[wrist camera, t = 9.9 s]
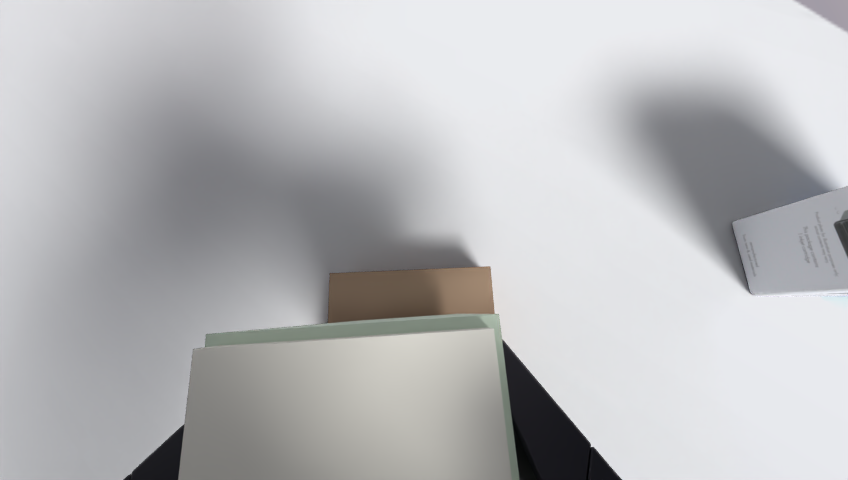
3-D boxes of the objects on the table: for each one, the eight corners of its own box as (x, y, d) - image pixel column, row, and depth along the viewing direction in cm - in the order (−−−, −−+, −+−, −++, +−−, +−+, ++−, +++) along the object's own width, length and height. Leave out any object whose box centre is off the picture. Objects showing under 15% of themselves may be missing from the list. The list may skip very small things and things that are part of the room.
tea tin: (466, 403, 14) (550, 660, 4) (358, 409, 14) (139, 677, 4) (457, 313, 15) (505, 314, 4) (357, 320, 15) (181, 336, 5)
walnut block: (495, 428, 17) (506, 451, 14) (341, 431, 18) (322, 455, 15) (482, 273, 19) (490, 266, 17) (345, 279, 20) (329, 273, 17)
